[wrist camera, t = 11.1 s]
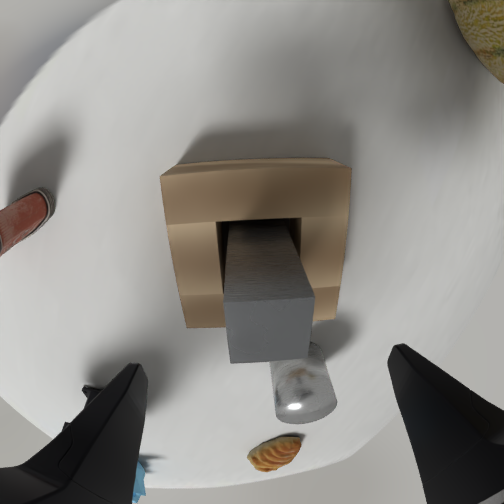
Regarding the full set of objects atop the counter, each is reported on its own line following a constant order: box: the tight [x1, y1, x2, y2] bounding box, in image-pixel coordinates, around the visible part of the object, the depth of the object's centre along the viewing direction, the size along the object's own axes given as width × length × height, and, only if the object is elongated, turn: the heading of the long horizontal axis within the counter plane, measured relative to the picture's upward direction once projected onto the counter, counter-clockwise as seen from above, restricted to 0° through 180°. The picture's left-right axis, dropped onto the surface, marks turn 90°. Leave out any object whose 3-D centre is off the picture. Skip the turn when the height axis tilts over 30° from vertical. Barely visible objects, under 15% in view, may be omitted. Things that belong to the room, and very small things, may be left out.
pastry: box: [247, 437, 302, 472], centre depth 34 cm, size 9×7×4 cm
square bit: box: [223, 218, 315, 363], centre depth 15 cm, size 3×3×10 cm
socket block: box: [160, 158, 351, 328], centre depth 18 cm, size 10×10×4 cm
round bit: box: [270, 342, 337, 424], centre depth 23 cm, size 5×5×6 cm
